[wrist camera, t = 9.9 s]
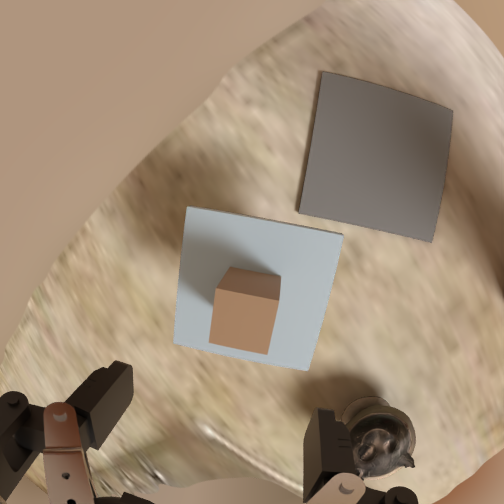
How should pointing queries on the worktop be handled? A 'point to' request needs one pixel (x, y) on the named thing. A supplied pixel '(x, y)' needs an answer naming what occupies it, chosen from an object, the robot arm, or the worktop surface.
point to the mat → (376, 158)
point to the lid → (253, 286)
